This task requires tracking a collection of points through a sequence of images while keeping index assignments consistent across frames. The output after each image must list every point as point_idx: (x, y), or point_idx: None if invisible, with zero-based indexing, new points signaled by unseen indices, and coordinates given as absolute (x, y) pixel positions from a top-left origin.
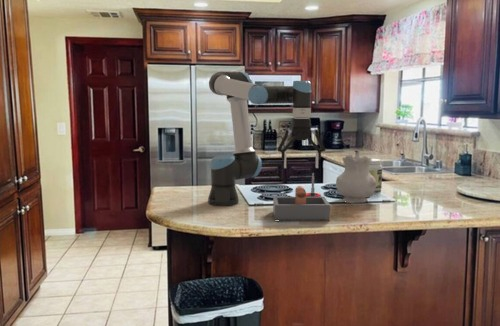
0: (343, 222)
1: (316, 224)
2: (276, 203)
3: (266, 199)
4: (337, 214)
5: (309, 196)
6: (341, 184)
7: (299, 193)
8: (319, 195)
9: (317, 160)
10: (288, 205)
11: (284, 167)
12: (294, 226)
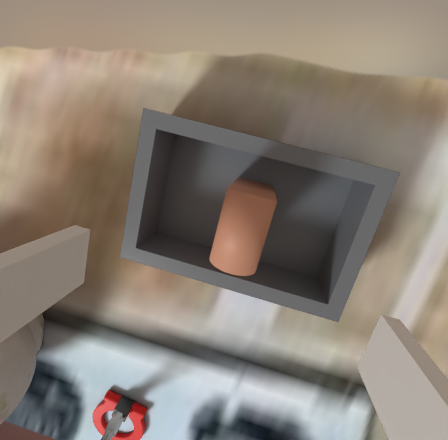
0: (126, 91)
1: (229, 90)
2: (377, 203)
3: (286, 434)
4: (114, 192)
5: (136, 405)
6: (2, 358)
7: (262, 196)
8: (101, 404)
9: (19, 253)
10: (333, 156)
11: (403, 324)
12: (321, 84)
